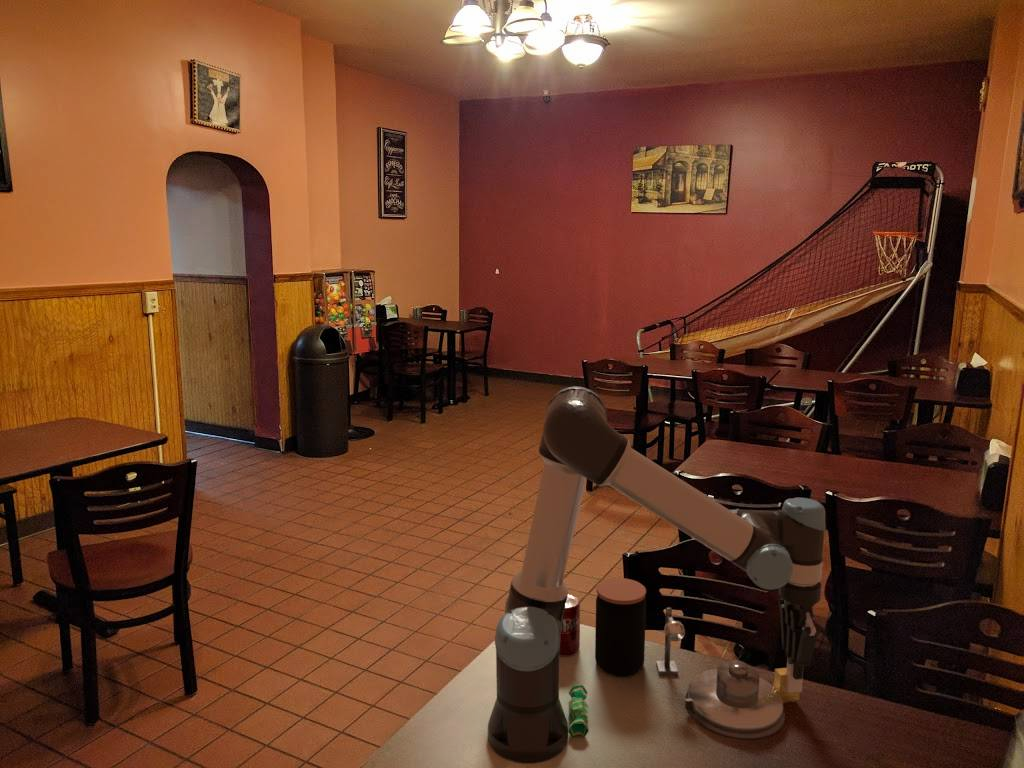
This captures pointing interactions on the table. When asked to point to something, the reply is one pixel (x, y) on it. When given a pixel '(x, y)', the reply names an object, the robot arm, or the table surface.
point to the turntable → (739, 719)
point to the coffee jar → (620, 626)
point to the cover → (737, 684)
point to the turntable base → (733, 734)
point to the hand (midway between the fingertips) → (793, 690)
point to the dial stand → (672, 633)
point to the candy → (578, 711)
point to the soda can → (570, 628)
